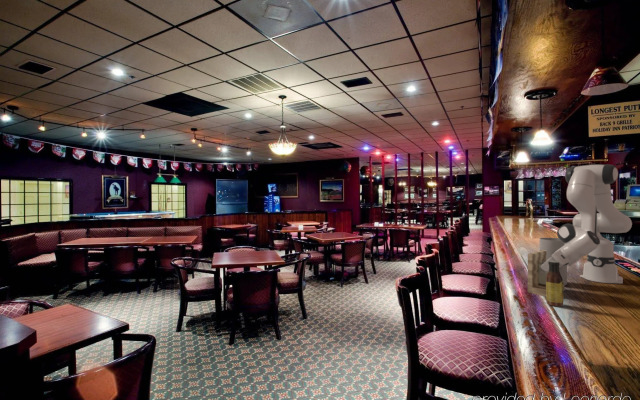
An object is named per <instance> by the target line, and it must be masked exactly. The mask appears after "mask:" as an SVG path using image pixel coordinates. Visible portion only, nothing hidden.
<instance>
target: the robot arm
mask: <svg viewBox="0 0 640 400" xmlns="http://www.w3.org/2000/svg"><path fill="white" fill-rule="evenodd" d="M618 177H619V171H618V169H617V167H616V166H615V165H613V164H609V163H607V164H587V165H579V166H576V165H575V166H571V167H569V168H568V169H566V171H565V175H564V178H565V181H566V183H567V184H568V185H567V188H566V199H567V201H568V202H569V203H570V204H571V205H572V206H573V207H574V208H575V209H576V210H577V211H578V213H577V214H576V215H574V216H573V219H572V223H565V224H562V225H561V226H560V227H558V230H557V231H556V235H557V238H559V239H560V240H561V241H562V242H564V243H565V245H564V246H562V247H561V248H560V249H558V250H557V251H555V253H554V254H552V255H551V256H552V257H551V258H549V259H548V260H547V261H546V262H545V263H543V264H542V265H541V269H542V270H540V271H539V273H540V274H544V273H545V272H549V264H548V261H558V262H559V264H560V265H559V267H562V266H566V265H567V267H568V266H570V267H571V266H572V265H574V264H575V263H577V262H578V261H580V260H581V259H582V258H583V257H585V256H586V262H585V263H584V264H583V273H582V274H579V277H580V278H583V279H585V280H587V281H592V282H596V283H604V284H620V285H621V284H624V283H623V282H624V281H623V280H624V279H623V276H620V273H619V272H618V267H617V266H616V264H615V263H616V258H615V256H614V255H615V253H614V252H615V251H614V246H615V245H614V243H613V242H612V241H611V240H609V239H607V238H605V237H603V236H602V234H601V233H609V234H622V233H627V232H629V231H630V230H631V228H632V227H633V226H632V225H633V222H632V220H631V218H630V217H629V216H628V215H626V214H624V213H622V212H621V211H620V210H618V208H616V205H614V203H613V199H612V191H611V184H613V183H614V182H616V181H617V179H618Z"/></svg>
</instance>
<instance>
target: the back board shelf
mask: <svg viewBox="0 0 640 400" xmlns="http://www.w3.org/2000/svg"><path fill="white" fill-rule="evenodd" d="M546 257H547V250H540V249H539V250H537V251H533V252H529V253H527V293H529V294H534V295H538V296H543V297H546V285H545V284H540V283H538V264H541V263H542V261H546ZM564 291H565V285H564V282H563V292H564Z"/></svg>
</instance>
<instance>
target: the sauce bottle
mask: <svg viewBox="0 0 640 400" xmlns="http://www.w3.org/2000/svg"><path fill="white" fill-rule="evenodd" d="M548 264H549V272H548V273H547V275H546V296H545V297H546V298H545V299H546V304H548V305H549V306H551V307H563V306H564V291H563V279H562V276H561V274H560V272H559V265H560V264H559V262H558V261H548Z"/></svg>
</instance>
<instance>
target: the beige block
mask: <svg viewBox="0 0 640 400" xmlns="http://www.w3.org/2000/svg"><path fill="white" fill-rule="evenodd" d="M545 262H546V261H542V263H541V264H538V283H540V284H545V285H546V275H547V273H548V272H545V273H544V274H540V273H539V271H540V270H542V269H541V265H542V264H543V263H545Z"/></svg>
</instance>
